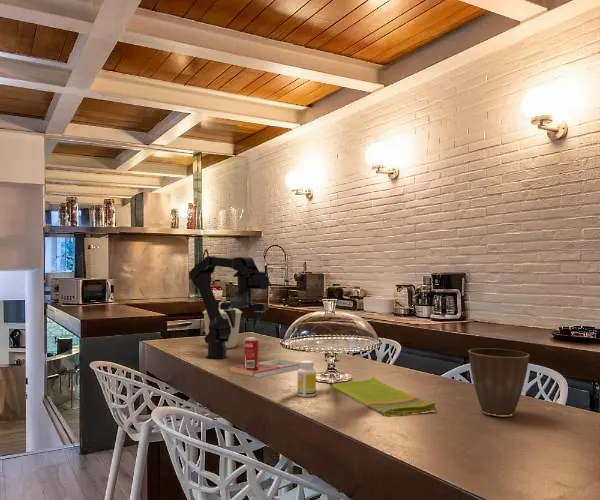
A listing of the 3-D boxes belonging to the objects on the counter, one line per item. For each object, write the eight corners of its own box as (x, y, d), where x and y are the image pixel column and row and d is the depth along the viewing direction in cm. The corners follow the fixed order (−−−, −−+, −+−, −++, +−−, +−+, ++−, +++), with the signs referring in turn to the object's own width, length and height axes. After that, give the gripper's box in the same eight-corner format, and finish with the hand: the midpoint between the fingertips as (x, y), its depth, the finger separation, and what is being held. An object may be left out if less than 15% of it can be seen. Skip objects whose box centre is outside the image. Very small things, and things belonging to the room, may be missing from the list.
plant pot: (501, 405, 153) (502, 347, 154) (542, 419, 139) (542, 355, 140) (456, 409, 148) (456, 349, 148) (494, 424, 134) (494, 358, 134)
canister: (239, 350, 244) (239, 303, 245) (198, 350, 245) (199, 302, 245) (243, 345, 263) (244, 300, 263) (205, 344, 263) (206, 300, 263)
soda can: (247, 369, 200) (247, 336, 200) (260, 370, 198) (260, 337, 199) (240, 372, 195) (241, 338, 195) (254, 373, 193) (255, 339, 194)
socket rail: (258, 377, 187) (258, 372, 187) (229, 371, 197) (229, 367, 197) (306, 367, 205) (306, 363, 206) (278, 362, 215) (278, 359, 215)
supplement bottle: (318, 393, 164) (318, 360, 164) (312, 398, 159) (312, 363, 159) (300, 392, 165) (301, 359, 166) (294, 396, 160) (295, 362, 161)
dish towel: (385, 419, 139) (385, 406, 139) (330, 389, 173) (331, 378, 173) (438, 414, 144) (438, 402, 144) (375, 386, 178) (375, 376, 178)
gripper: (213, 288, 213) (213, 329, 213) (258, 290, 207) (257, 331, 207) (226, 288, 224) (226, 326, 223) (269, 289, 218) (268, 328, 217)
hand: (244, 328), depth 217 cm, fingers open, 9 cm apart
